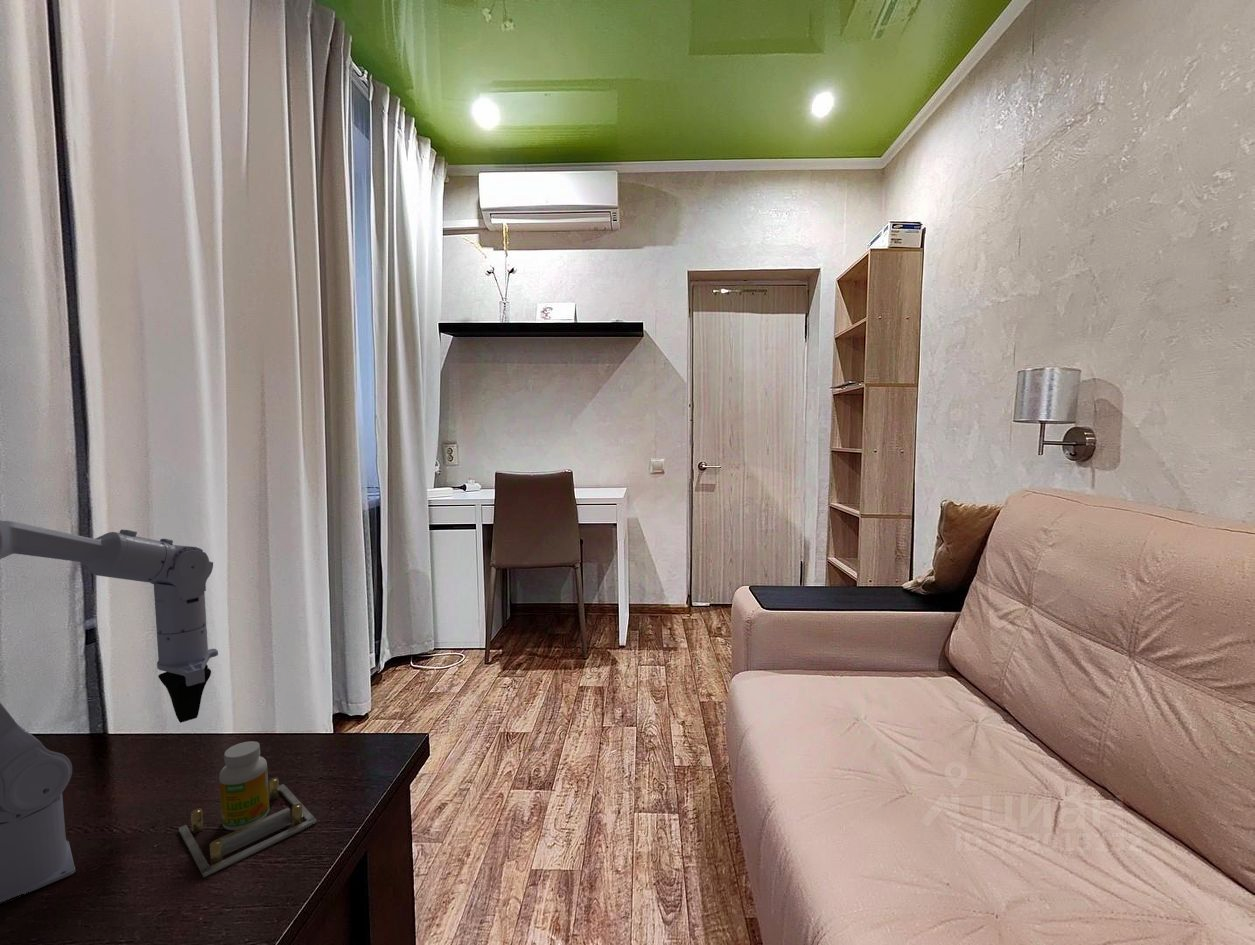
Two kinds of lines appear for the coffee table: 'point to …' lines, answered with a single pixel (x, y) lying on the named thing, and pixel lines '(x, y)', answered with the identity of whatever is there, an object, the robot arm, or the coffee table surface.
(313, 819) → the frame
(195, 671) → the robot arm
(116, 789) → the coffee table surface
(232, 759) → the supplement bottle
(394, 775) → the coffee table surface
